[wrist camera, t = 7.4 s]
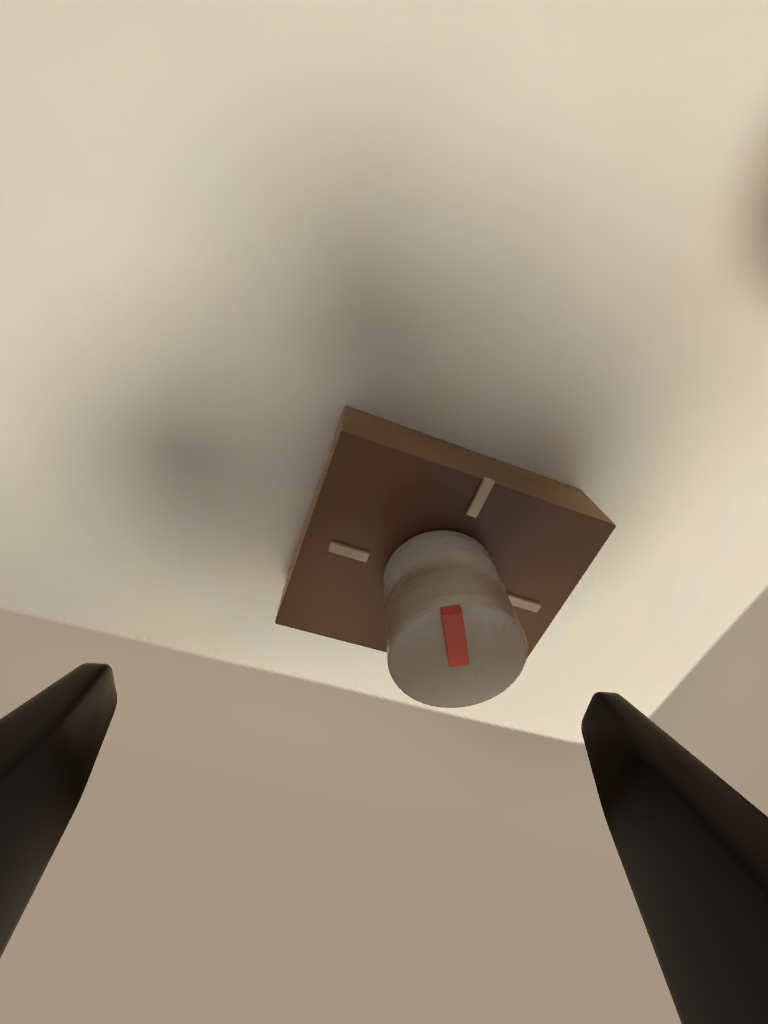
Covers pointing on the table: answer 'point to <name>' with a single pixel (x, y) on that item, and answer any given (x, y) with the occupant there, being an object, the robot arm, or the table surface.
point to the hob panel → (430, 528)
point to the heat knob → (449, 622)
